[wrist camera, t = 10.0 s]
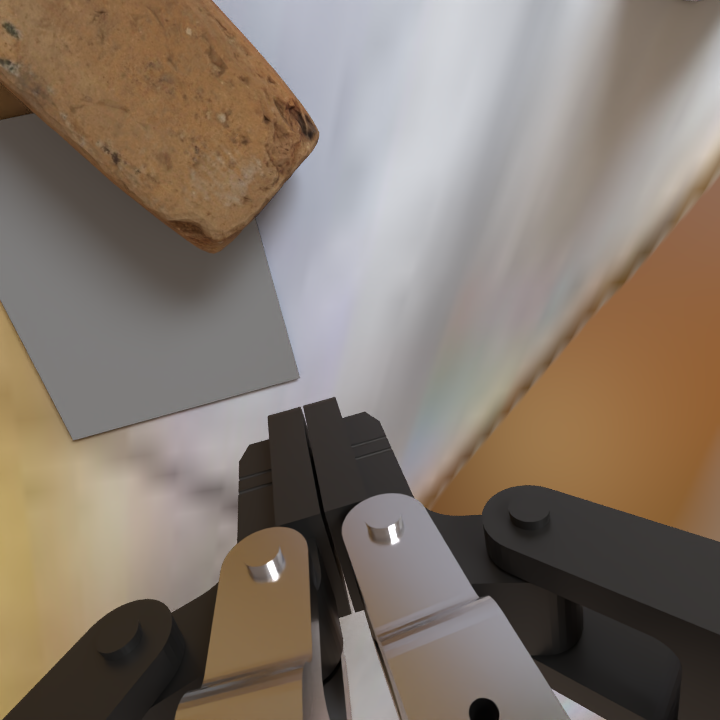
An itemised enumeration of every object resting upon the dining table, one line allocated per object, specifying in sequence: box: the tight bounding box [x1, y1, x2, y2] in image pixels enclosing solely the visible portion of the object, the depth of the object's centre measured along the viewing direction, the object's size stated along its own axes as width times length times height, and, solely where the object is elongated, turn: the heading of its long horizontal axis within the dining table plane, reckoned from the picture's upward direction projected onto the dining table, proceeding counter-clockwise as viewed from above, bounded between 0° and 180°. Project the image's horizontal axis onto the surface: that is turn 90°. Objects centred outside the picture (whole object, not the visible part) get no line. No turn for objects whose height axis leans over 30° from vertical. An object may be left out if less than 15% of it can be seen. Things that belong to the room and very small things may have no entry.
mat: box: [0, 113, 300, 440], centre depth 38 cm, size 18×22×1 cm
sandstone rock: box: [0, 0, 319, 254], centre depth 30 cm, size 11×8×20 cm
